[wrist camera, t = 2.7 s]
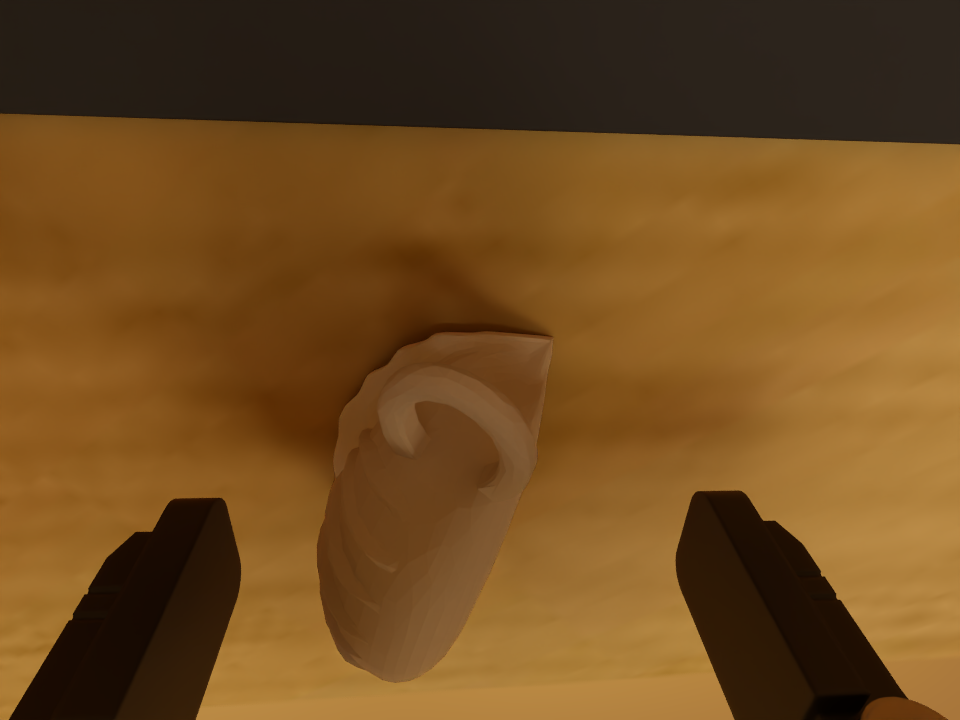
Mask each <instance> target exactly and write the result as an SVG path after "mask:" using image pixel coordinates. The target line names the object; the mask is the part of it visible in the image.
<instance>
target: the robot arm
mask: <svg viewBox="0 0 960 720" xmlns="http://www.w3.org/2000/svg"><path fill="white" fill-rule="evenodd" d="M676 572H677V578H678V582H679V586H680V589H681V591H682V594H683V596H684V598H685V601H686V603H687V606H688V608H689V611H690V613H691V615H692V618H693V620H694V623H695V625H696V627H697V630H698V632H699V635H700V637H701V640H702V642H703V644H704V647H705V649H706V652H707V654H708V656H709V659H710V661H711V664H712V666H713V669H714V671H715V673H716V676H717V678H718V681H719V683H720V685H721V688H722V690H723V693H724V695H725V697H726V700H727V702H728V705H729V707H730V709H731V712H732V714H733V717H734V719H735V720H948V719H946V718H945V717H943V716H942V715H940V714H939V713H937V712H936V711H934V710H932V709H930V708H929V707H927V706H925V705H922V704H920V703H918V702H915V701H912V700H909V699H908V698H907V697H906V696H905V694H904V693H903V692H902V691H901V689H900V688H899V686H898V685H897V684H896V682H895V680H894V679H893V677H892V676H891V674H890V673H889V671H888V670H887V668H886V667H885V665H884V664H883V662H882V661H881V659H880V658H879V656H878V655H877V654H876V652H875V651H874V649H873V648H872V646H871V645H870V643H869V642H868V640H867V639H866V637H865V636H864V634H863V633H862V631H861V630H860V628H859V627H858V625H857V624H856V622H855V621H854V619H853V618H852V617H851V615H850V614H849V612H848V611H847V609H846V608H845V606H844V605H843V603H842V602H841V600H837V598H836V593H835V591H834V590H833V588H832V587H831V585H830V584H829V582H828V581H827V579H826V578H825V577H822V576H821V571H820V569H819V568H818V566H817V565H816V563H815V562H814V560H813V559H812V557H811V556H810V554H809V553H808V551H807V550H806V548H805V547H804V545H803V544H802V543H801V542H800V541H798V540H797V539H796V538H795V537H794V536H793V535H791V534H790V533H789V532H788V531H787V530H785V529H784V528H783V527H782V526H781V525H779V524H778V523H777V522H776V521H763V520H762V518H761V517H760V515H759V514H758V512H757V510H756V509H755V507H754V506H753V504H752V503H751V501H750V499H749V498H748V497H747V495H746V494H745V493H743V492H742V491H697V492H695V494H694V495H693V497H692V499H691V502H690V506H689V509H688V513H687V516H686V520H685V523H684V527H683V530H682V534H681V537H680V541H679V544H678V548H677V552H676ZM240 581H241V563H240V557H239V553H238V549H237V545H236V541H235V537H234V533H233V529H232V525H231V521H230V517H229V513H228V509H227V506H226V503H225V501H224V500H223V499H222V498H182V499H173V500H171V501H170V502H169V503H168V505H167V506H166V508H165V510H164V511H163V513H162V515H161V517H160V519H159V521H158V522H157V524H156V526H155V528H154V530H153V531H152V532H135V533H134V534H133V535H132V536H131V537H130V538H129V539H127V540H126V541H125V542H124V543H123V544H122V545H121V546H120V547H118V548H117V549H116V550H115V551H114V552H113V553H112V554H111V555H110V556H108V557H107V558H106V560H105V562H104V563H103V565H102V567H101V568H100V570H99V572H98V573H97V575H96V576H95V578H94V580H93V581H92V583H91V585H90V586H89V588H88V589H89V591H88V594H85V595H84V596H83V598H82V600H81V601H80V603H79V605H78V606H77V608H76V610H75V611H74V613H73V619H72V620H69V621H68V623H67V624H66V626H65V628H64V629H63V631H62V633H61V634H60V636H59V638H58V639H57V641H56V643H55V644H54V646H53V648H52V649H51V651H50V652H49V654H48V656H47V657H46V659H45V661H44V662H43V664H42V666H41V667H40V669H39V671H38V672H37V674H36V676H35V677H34V679H33V681H32V682H31V684H30V686H29V687H28V689H27V690H26V692H25V694H24V695H23V697H22V699H21V700H20V702H19V704H18V705H17V707H16V709H15V710H14V712H13V714H12V715H11V717H10V719H9V720H196V717H197V714H198V711H199V708H200V705H201V702H202V699H203V696H204V694H205V691H206V688H207V685H208V682H209V679H210V676H211V673H212V670H213V667H214V664H215V661H216V659H217V656H218V653H219V650H220V647H221V644H222V641H223V638H224V635H225V632H226V629H227V627H228V624H229V621H230V618H231V615H232V612H233V609H234V606H235V603H236V600H237V597H238V593H239V588H240Z"/></svg>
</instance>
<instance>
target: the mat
mask: <svg viewBox="0 0 960 720" xmlns="http://www.w3.org/2000/svg"><path fill="white" fill-rule="evenodd" d="M0 113H3V114H34V115H65V116H96V117H128V118H159V119H190V120H221V121H252V122H283V123H314V124H345V125H376V126H407V127H438V128H469V129H500V130H532V131H563V132H594V133H625V134H656V135H687V136H718V137H749V138H780V139H811V140H842V141H873V142H904V143H936V144H960V0H0Z"/></svg>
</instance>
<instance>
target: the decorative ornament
mask: <svg viewBox="0 0 960 720" xmlns="http://www.w3.org/2000/svg"><path fill="white" fill-rule="evenodd" d="M552 348H553V337H548V336H539V335H528V334H516V333H503V332H489V331H483V332H474V333H463V332H442V333H435V334H433V335H432V336H431V337H429V338H428V339H426V340H425V341H421V342H417V343H414V344H410V345H406V346H404V347H402V348H401V349H399V350H398V351H397V352H396V354H395V355H394V356H393V358H392V359H391V360H390V362H389V363H388V364H387V365H386V366H383V367H381V368H379V369H377V370H374V371H372V372H371V373H370V374H368V375H367V377H366V379H365V381H364V383H363V385H362V387H361V389H360V391H359V393H358V394H357V395H356V396H355V397H354V398H353V399H352V400H351V401H350V402H349V403H348V404H346V405H345V407H344V409H343V411H342V413H341V415H340V417H339V434H338V440H337V444H336V448H335V451H334V459H333V468H334V473H335V478H336V479H335V480H334V482H333V485H332V487H331V490H330V493H329V497H328V502H327V506H326V511H325V519H324V522H323V524H322V526H321V529H320V534H319V539H318V543H317V567H318V573H319V579H320V595H321V600H322V605H323V610H324V614H325V619H326V624H327V625H328V627H329V629H330V632H331V634H332V637H333V639H334V642H335V644H336V646H337V649H338V651H339V652H340V654H341V655H342V657H343V658H344V659H345V661H347V662H349V663H350V664H352V665H354V666H356V667H358V668H361V669H364V670H366V671H368V672H370V673H372V674H373V675H375V676H377V677H378V678H380V679H382V680H385V681H390V682H395V683H396V682H404V681H410V680H413V679H415V678H418V677H419V676H421V675H423V674H424V673H426V672H427V671H429V670H430V669H432V668H433V667H434V666H435V665H436V664H437V663H438V662H439V661H440V660H441V659H442V658H443V657H444V656H445V655H446V653H447V652H448V650H449V649H450V647H451V646H452V644H453V643H454V641H455V640H456V639H457V637H458V636H459V634H460V632H461V630H462V629H463V627H464V625H465V623H466V621H467V619H468V617H469V615H470V613H471V611H472V609H473V607H474V605H475V603H476V600H477V598H478V596H479V594H480V592H481V590H482V588H483V586H484V584H485V582H486V580H487V578H488V575H489V573H490V571H491V569H492V566H493V564H494V562H495V559H496V557H497V554H498V552H499V549H500V547H501V545H502V542H503V540H504V537H505V535H506V533H507V530H508V528H509V525H510V522H511V520H512V517H513V514H514V512H515V509H516V506H517V504H518V501H519V499H520V496H521V493H522V491H523V490H524V489H525V487H526V486H527V484H528V482H529V480H530V478H531V475H532V473H533V471H534V468H535V466H536V464H537V456H538V450H537V446H536V444H537V440H538V435H539V429H540V423H541V417H542V411H543V405H544V398H545V390H546V382H547V375H548V369H549V365H550V361H551V357H552Z"/></svg>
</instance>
